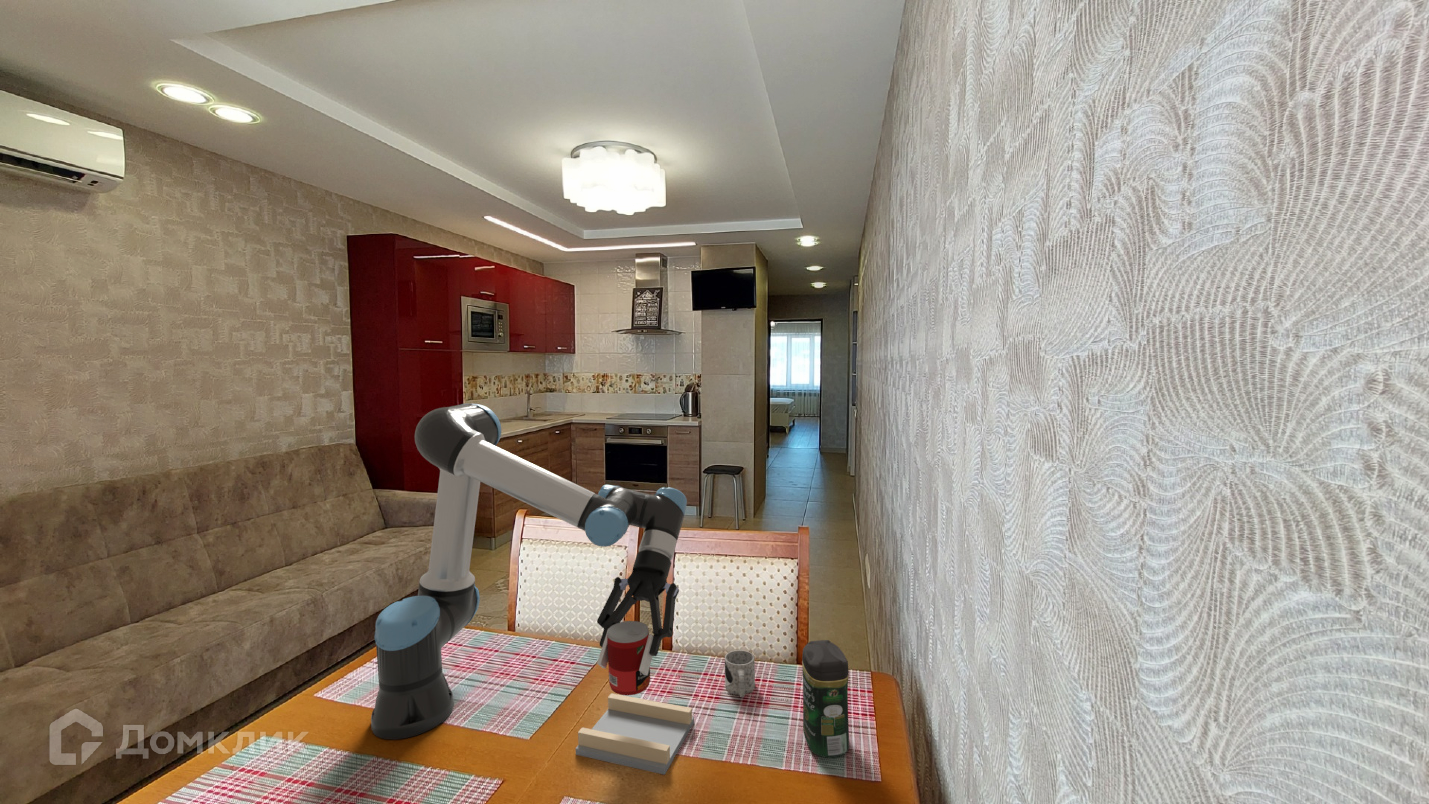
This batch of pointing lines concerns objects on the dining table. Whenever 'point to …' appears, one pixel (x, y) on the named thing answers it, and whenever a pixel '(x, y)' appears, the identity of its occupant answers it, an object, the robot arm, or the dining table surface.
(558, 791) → the dining table surface
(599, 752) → the track
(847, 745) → the coffee jar
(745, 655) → the mug
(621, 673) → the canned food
